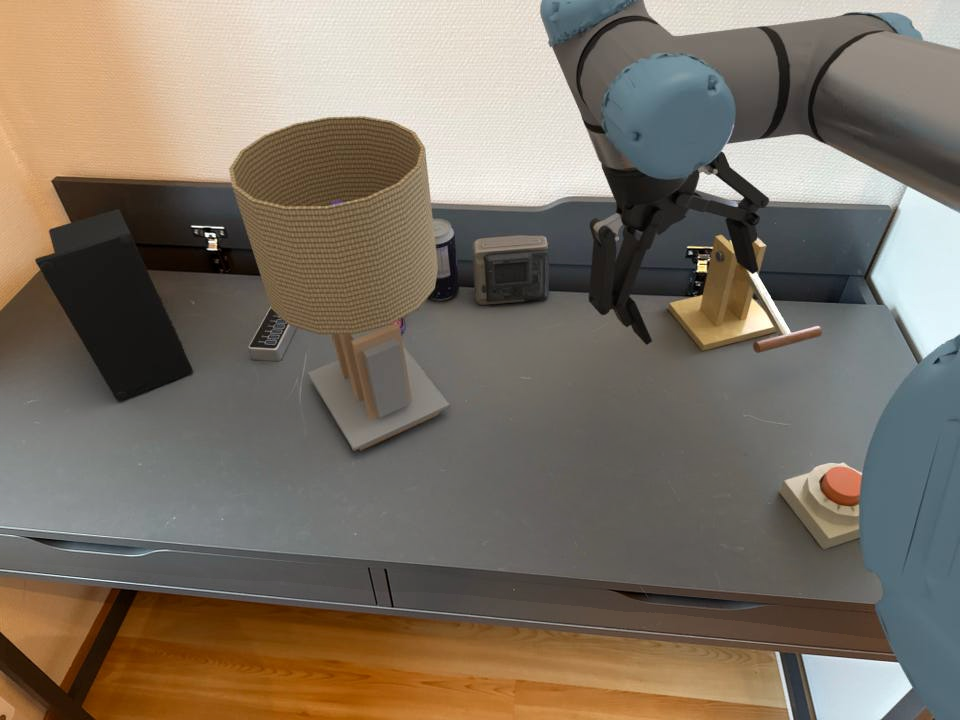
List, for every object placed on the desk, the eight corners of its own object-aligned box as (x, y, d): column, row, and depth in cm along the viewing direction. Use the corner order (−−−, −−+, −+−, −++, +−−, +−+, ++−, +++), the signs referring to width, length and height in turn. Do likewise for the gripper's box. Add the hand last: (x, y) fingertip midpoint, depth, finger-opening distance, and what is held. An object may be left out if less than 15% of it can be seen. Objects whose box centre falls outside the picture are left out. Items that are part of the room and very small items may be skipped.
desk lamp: (478, 416, 92) (460, 169, 68) (339, 481, 85) (264, 233, 61) (411, 334, 104) (376, 101, 80) (285, 385, 97) (205, 148, 73)
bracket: (777, 331, 101) (802, 251, 91) (702, 351, 98) (720, 271, 89) (738, 291, 108) (758, 213, 98) (667, 309, 106) (681, 230, 96)
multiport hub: (251, 359, 102) (247, 348, 100) (284, 297, 112) (281, 286, 111) (280, 361, 101) (276, 349, 100) (311, 299, 112) (308, 287, 110)
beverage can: (466, 294, 111) (461, 229, 102) (435, 308, 108) (428, 242, 100) (447, 277, 114) (440, 212, 106) (417, 290, 112) (408, 225, 104)
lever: (816, 340, 90) (825, 331, 88) (754, 356, 89) (762, 347, 87) (758, 242, 97) (766, 231, 95) (700, 256, 96) (706, 245, 94)
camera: (546, 283, 112) (547, 229, 105) (550, 306, 107) (551, 251, 101) (474, 288, 112) (471, 234, 105) (475, 310, 107) (471, 256, 101)
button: (869, 500, 75) (874, 490, 74) (837, 510, 74) (842, 500, 73) (844, 471, 78) (849, 461, 77) (813, 481, 77) (817, 471, 76)
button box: (886, 529, 77) (899, 507, 74) (823, 550, 75) (834, 528, 72) (838, 473, 82) (849, 451, 80) (778, 491, 81) (787, 470, 78)
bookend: (89, 315, 111) (14, 181, 95) (158, 291, 115) (98, 158, 99) (117, 405, 96) (34, 264, 80) (195, 374, 100) (132, 233, 84)
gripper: (732, 53, 65) (769, 221, 79) (507, 207, 66) (584, 346, 80) (787, 76, 59) (816, 252, 73) (540, 244, 60) (616, 385, 74)
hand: (695, 301), depth 77 cm, fingers open, 13 cm apart
